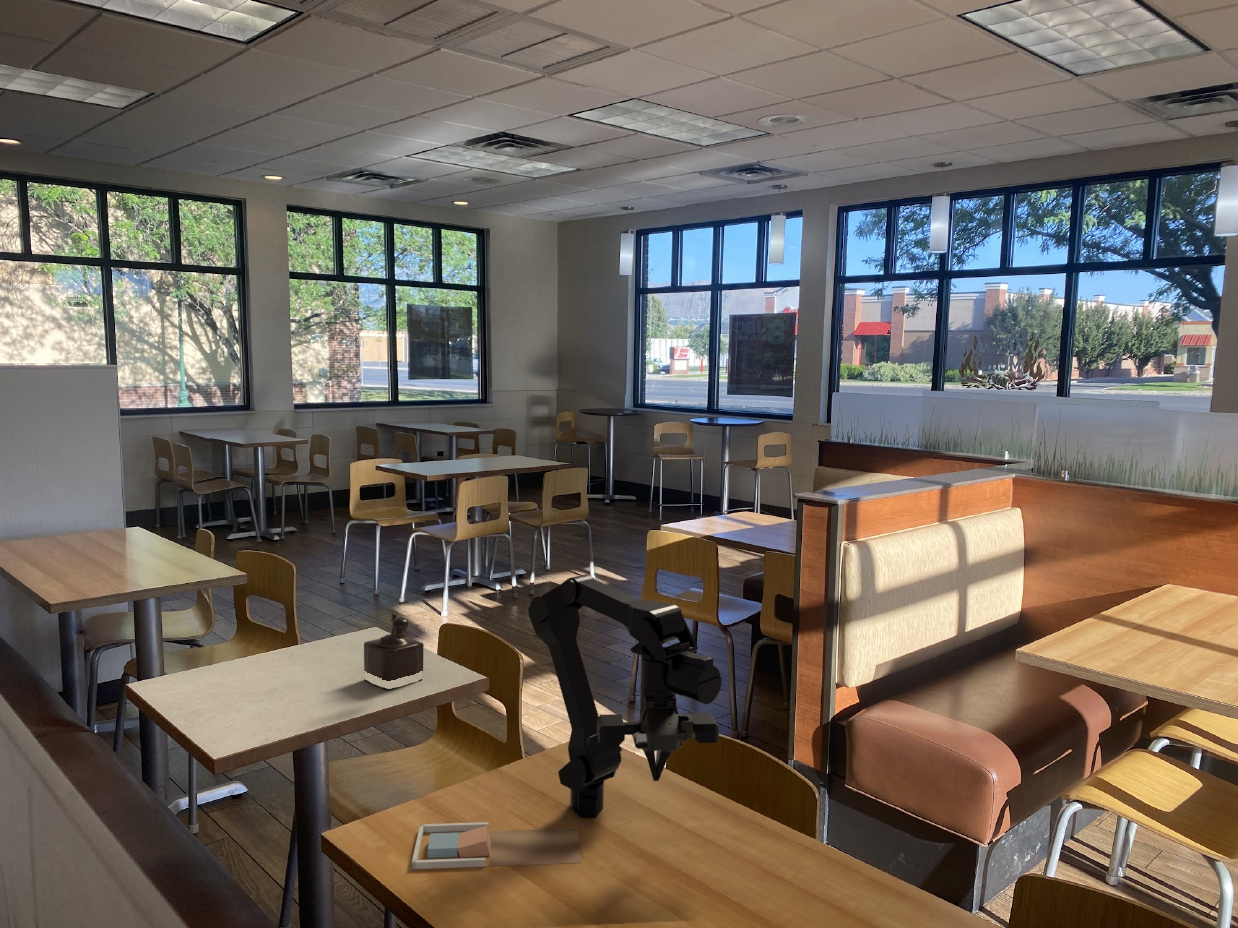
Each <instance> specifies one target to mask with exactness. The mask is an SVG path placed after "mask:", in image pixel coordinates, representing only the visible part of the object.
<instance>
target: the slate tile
mask: <svg viewBox="0 0 1238 928" xmlns="http://www.w3.org/2000/svg"><path fill="white" fill-rule="evenodd" d="M459 833H461V831H458V832H430V834H429V835H430V836H429V841H428V846H427V858H428V859H436V858H437V859H439V858H458V856H459V852H458V849H457V848H458V841H459Z"/></svg>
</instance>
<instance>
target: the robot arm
mask: <svg viewBox="0 0 1238 928" xmlns="http://www.w3.org/2000/svg"><path fill="white" fill-rule="evenodd" d="M531 599H532V600H531V602H530V605H529V606H528V608H527V612H528V618H529V620H530V623H531V625H532V628H533V630H534V633H535V636H537V638H539V639H540V640H541V641H542V642H543V643H544V644H545V645H546V646H547V647H548V650H549V652H550V655H551V659H552V663H553V667H554V671H555V674H556V678H557V681H558V685H559V689H560V692H561V695H562V699H563V702H564V706H565V709H566V713H567V716H568V719H569V723H570V727H571V732H570V735H569V736H570V737H569V740H568V741H569V742H568V746H567V751H568V757H569V761H568V763H566V764H565V765H564V766H562V768H560V769H559V770H558V771H557V773H558V778H559V783H560V784H561V785H562V786H564V787H566V788H568V789H570V798H569V799H570V803H569V805H570V806H569V807H570V810H571V812H573V813H575V814H576V815H577V817H579V818H580V819H595V818H597V816H599V813H601V812H602V811H603V810H604V794H605V793H604V790H605V781H607V780H609V779H612V778H614V777H615V774H616V772H617V770H618V769H619V767H620V765H621V763H622V754H621V752H622V751H623V749H622V747H621V744H622V743H624V742H625V740H626V739H625V738H626V736H631V735H632V739H633V743H634V747H635V748H636V749H637V750H642V751H643V752H644V755H645V757H646V759H647V764H648V767H649V769H650V773H651V776H652V781H653V782H659V781H660V778H661V776H662V773H663V771H664V768H665V766H666V763H667V761H668V759H669V758H670V756H671V754H672V752H674V751H677V750H679V749H680V748H682V747H683V742H688V740H692V739H693V738H694V740H695V741H697V742H698V744H716V743H718V742H719V738H720V737H719V736H720V731H719V730H720V729H719V726H718V723H717V721H716V720H715V717H714V716H713V715H712V714H711V712H689V713H688V715H687V714H686V715H684V714H682V713H679V711H678V708H677V695H679V696H682V697H684V698H687V699H690V700H693V701H695V702H698V703H700V704H703V705H710V704H712V702H714V701H715V700H716V698H717V697H718V695H719V694H720V691H721V687H722V680H723V679H722V676H721V672H720V669H719V668H718V667H717V666H715V665H714V658H713V657H711V656H709V655H701V654H698V653H695V652H697V651H698V649H699V646H698V645H697V642H696V640H695V638H694V635H692V633H691V630H690V628H689V626H688V624H687V622H686V621H687V620H685V618H684V617H685V616H683V613H682V611H683V610H682V609H681V608H680V607H679V606H677V605H676V604H673V603H669V602H665V601H659V600H644V599H640V598H638V597H635V596H633V595H631V594H629V593H626V592H624V591H621V590H620V589H618V588H615V587H613V586H611V585H608V584H606V583H604V582H601V581H599V580H597V579H595V578H594V576H592V575H590V574H581V575H576V576H573V577H569V578H567V579H565V580H564V581H563V582H562V583H560V584H559V585H558V586H556V587H555V588H552V589H551V590H549V591H547V592H545V593H544V594H540V595H537V596H534V597H533V598H531ZM584 607H585V608H588V609H590V610H593V611H594V612H596V613H599V614H601V615H602V616H605V617H607V618H609V619H611V620H613V621H615V622H617V623H619V624H621V625H622V626H624V627H625V628H626V630H627V632H628V635H629V636H631V637H632V638H633V639H634V640H635V641H636V642H637V643H636V644H635V645H633V646H632V647H630V652H631V653H633V654H635V655H638V656H640V671H639V672H640V675H639V676H640V679H639V680H640V681H639V682H640V683H639V715H638V716H639V718H638V719H639V720H638V721H624V719H623V715H622V714H620V713H619V714H618V713H617V714H615V713H613V714H612V713H611V714H600V715H599V714H598V713H599V712H598V709H597V705H596V703H595V699H594V696H593V691H592V688H591V686H590V681H589V679H588V675H587V672H586V668H585V664H584V661H583V657H582V654H581V650H580V647H579V644H578V639H577V637H578V633H579V629H580V625H581V617H580V613H579V611H580V610H581V609H583V608H584ZM677 640H678V641H679V642H676V643H674V644H671V645H668V646H663V645H665V644H667V643H670V642H674V641H677ZM655 752H656V753H655Z"/></svg>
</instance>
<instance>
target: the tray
mask: <svg viewBox="0 0 1238 928" xmlns="http://www.w3.org/2000/svg"><path fill="white" fill-rule="evenodd" d="M484 826H488V830H489V831H490V823H489V821H486V822H481V821H480V822H461V823H459V822H457V823H454V822H452V823H428V824H427V823H425V824H424V823H423V824H422V823H421V824H419V828H418V833H417V837H416V841H415V847H414V851H413V856H412V859H411V870H421V869H422V870H424V869H449V868H452V869H454V868H456V869H457V868H480V867H482V868H483V867H486V865H487V857H473V858H472V857H469V858H467V857H463V858H444V859H442V858H440V859H439V858H437V859H436V858H435V859H419V856H420V850H421V846H422V841H423V836H424V833H452V832H465V831H469V830H473V829H476V828H480V827H484Z"/></svg>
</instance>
